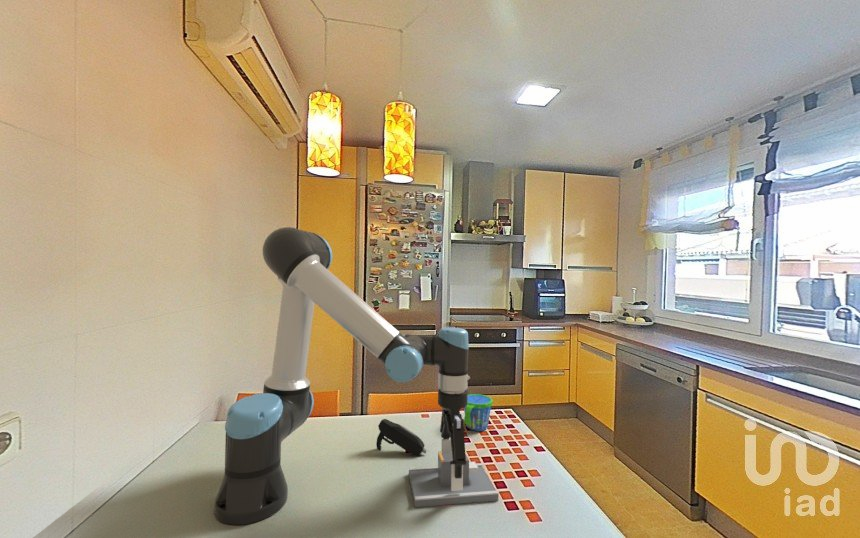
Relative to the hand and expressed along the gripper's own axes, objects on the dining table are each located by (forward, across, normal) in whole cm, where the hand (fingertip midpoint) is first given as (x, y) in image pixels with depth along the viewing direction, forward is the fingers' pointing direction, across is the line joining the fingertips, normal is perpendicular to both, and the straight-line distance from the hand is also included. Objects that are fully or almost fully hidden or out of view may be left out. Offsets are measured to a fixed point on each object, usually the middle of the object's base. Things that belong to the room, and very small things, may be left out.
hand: (451, 475), depth 93 cm
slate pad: (+3, 0, 0) cm, 3 cm away
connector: (+1, 0, -2) cm, 2 cm away
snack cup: (+3, +35, -17) cm, 39 cm away
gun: (+3, +20, +11) cm, 23 cm away
